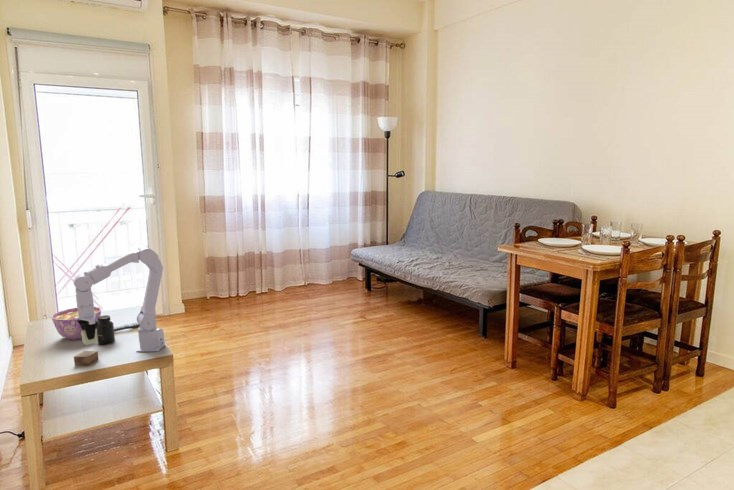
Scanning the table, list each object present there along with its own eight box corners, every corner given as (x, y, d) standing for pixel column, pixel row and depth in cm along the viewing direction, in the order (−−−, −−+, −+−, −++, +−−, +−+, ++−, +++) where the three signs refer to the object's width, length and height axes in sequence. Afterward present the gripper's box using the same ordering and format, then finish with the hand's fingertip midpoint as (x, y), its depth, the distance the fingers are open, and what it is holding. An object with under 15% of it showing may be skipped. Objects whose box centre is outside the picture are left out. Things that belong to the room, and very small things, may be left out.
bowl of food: (65, 348, 211) (62, 322, 209) (47, 338, 223) (43, 314, 221) (112, 334, 226) (109, 310, 224) (92, 326, 238) (89, 304, 236)
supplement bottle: (96, 346, 212) (93, 320, 210) (100, 340, 219) (97, 315, 217) (113, 344, 214) (110, 318, 212) (116, 338, 220) (113, 313, 218)
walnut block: (98, 360, 197) (97, 350, 197) (89, 366, 191) (87, 356, 191) (84, 360, 198) (83, 350, 197) (74, 366, 192) (73, 356, 191)
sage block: (94, 339, 198) (93, 327, 197) (98, 342, 195) (96, 330, 194) (82, 342, 195) (81, 330, 194) (85, 345, 192) (84, 333, 191)
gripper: (69, 303, 194) (73, 335, 197) (79, 310, 184) (83, 344, 186) (88, 299, 199) (92, 331, 202) (99, 306, 189) (103, 339, 191)
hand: (89, 337), depth 194 cm, fingers closed on sage block, 4 cm apart
